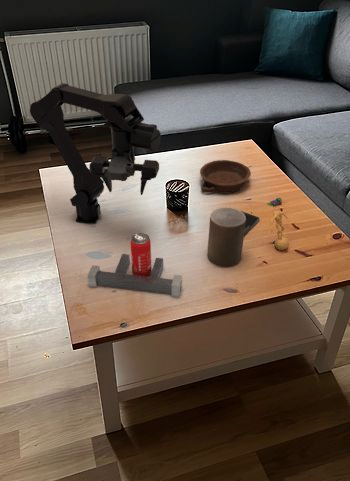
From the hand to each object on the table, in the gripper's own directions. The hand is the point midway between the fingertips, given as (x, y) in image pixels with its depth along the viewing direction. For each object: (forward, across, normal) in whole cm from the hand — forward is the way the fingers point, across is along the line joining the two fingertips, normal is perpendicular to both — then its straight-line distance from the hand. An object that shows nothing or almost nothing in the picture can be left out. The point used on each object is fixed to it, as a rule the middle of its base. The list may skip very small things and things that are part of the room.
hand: (126, 192), depth 139 cm
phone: (+14, +33, +7) cm, 36 cm away
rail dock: (+13, +8, -21) cm, 26 cm away
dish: (+14, +27, +33) cm, 44 cm away
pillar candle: (+13, +30, -8) cm, 34 cm away
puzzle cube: (+14, +44, +22) cm, 52 cm away
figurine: (+13, +45, -1) cm, 47 cm away
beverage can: (+13, +8, -19) cm, 25 cm away
